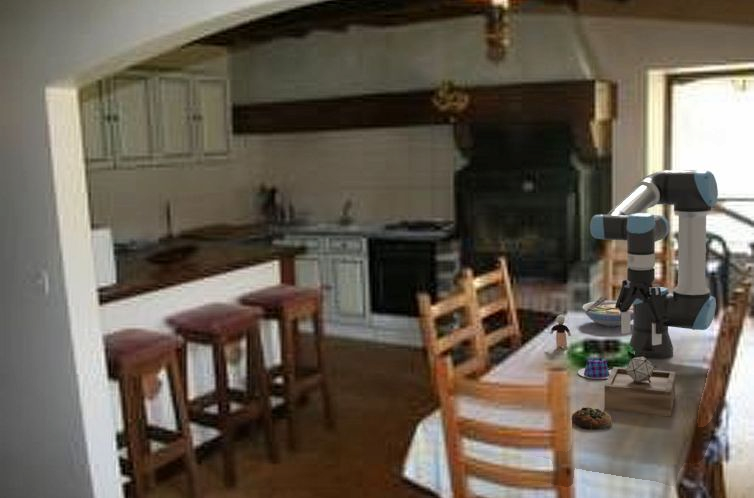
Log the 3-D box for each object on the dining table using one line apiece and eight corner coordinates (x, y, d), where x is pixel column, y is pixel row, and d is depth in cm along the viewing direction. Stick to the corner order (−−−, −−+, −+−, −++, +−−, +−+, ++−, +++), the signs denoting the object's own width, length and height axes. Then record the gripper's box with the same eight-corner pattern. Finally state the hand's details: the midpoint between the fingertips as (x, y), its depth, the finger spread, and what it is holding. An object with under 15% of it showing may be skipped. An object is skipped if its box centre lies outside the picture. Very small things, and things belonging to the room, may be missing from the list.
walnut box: (613, 388, 241) (613, 366, 240) (675, 394, 234) (675, 371, 232) (604, 409, 225) (604, 385, 224) (670, 416, 217) (670, 391, 216)
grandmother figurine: (571, 347, 286) (571, 314, 284) (571, 350, 283) (570, 316, 280) (550, 346, 289) (550, 313, 287) (549, 349, 285) (549, 315, 283)
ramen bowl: (631, 335, 297) (631, 314, 296) (573, 329, 309) (573, 309, 308) (648, 320, 317) (648, 300, 316) (593, 314, 330) (593, 296, 329)
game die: (646, 395, 228) (660, 375, 221) (618, 385, 229) (630, 365, 222) (648, 373, 234) (662, 353, 227) (621, 363, 235) (633, 342, 228)
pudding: (607, 368, 262) (607, 353, 261) (621, 379, 250) (621, 363, 249) (573, 370, 261) (572, 355, 261) (584, 382, 250) (584, 366, 249)
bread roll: (567, 427, 213) (568, 409, 213) (575, 418, 224) (576, 401, 223) (609, 434, 209) (610, 415, 209) (614, 424, 219) (615, 406, 219)
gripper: (603, 262, 233) (603, 330, 237) (659, 276, 210) (659, 351, 213) (623, 259, 236) (624, 326, 239) (682, 273, 212) (681, 347, 216)
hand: (640, 338), depth 226 cm, fingers open, 13 cm apart
